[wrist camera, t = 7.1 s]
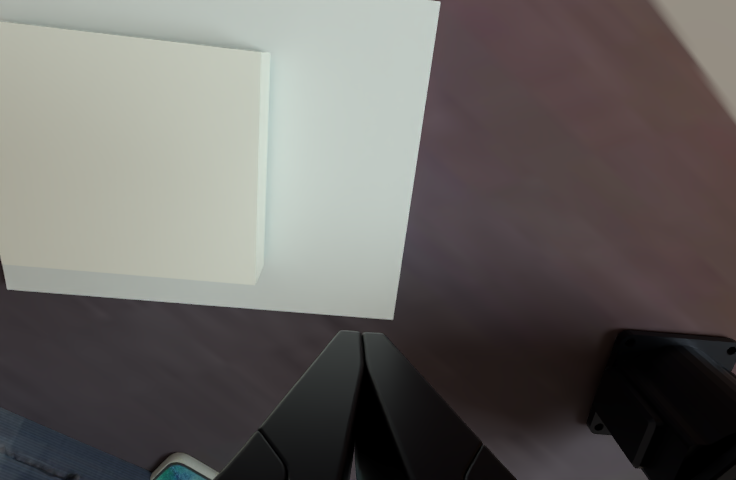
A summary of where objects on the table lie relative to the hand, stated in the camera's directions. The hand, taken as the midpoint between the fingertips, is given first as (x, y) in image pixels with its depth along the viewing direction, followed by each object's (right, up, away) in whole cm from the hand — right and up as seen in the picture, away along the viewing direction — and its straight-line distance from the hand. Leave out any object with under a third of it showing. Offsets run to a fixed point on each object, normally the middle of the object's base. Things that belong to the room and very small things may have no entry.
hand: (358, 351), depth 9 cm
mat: (-7, +6, +11) cm, 14 cm away
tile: (-4, +5, +10) cm, 12 cm away
